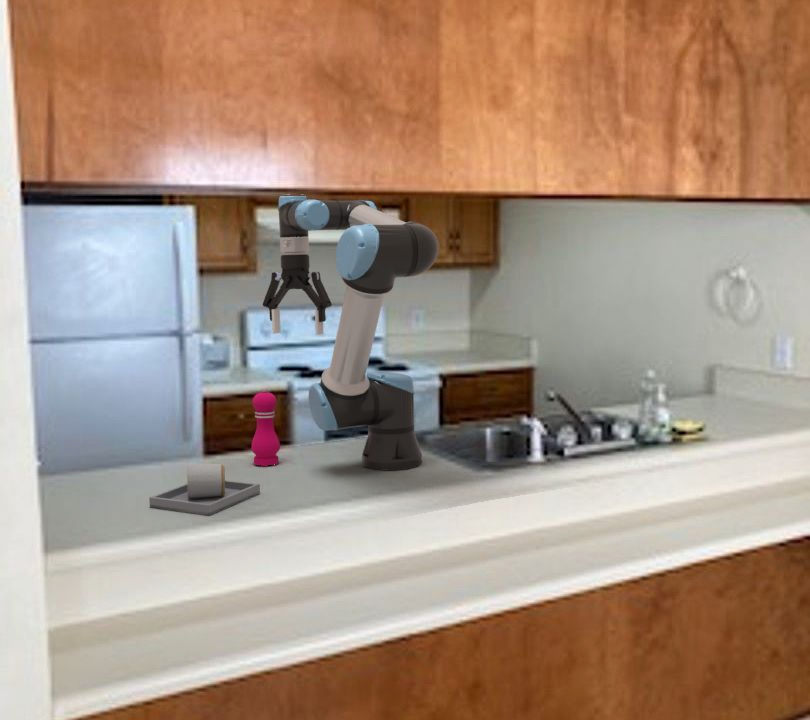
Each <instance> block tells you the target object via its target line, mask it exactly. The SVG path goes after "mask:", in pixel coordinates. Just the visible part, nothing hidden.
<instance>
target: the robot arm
mask: <svg viewBox="0 0 810 720" xmlns="http://www.w3.org/2000/svg"><path fill="white" fill-rule="evenodd" d="M277 210H278V221H279V222H278V223H279V224H278V225H279V240H280V241H279V244H280V245H279V246H280V248H279V249H280V253H282V255H280V267H281V268H280V269H281V272H280V271H275V272H271V280H270V284H269V286H268V289H267V291H266V294H265V296H264V299H263V301H262V307H265V308H268V310H269V320H270V322H271V325H272V326H271V328H272V330H271V331H272V334H273V335H274V334H280V333H282V332H281V311H280V310H281V309H280V308H278V306H279V305H280V303H281V302H282V301H283V299H284V298H285V296H286V295H287V293H288V292H289V291H290V290H302V291H303V292H305V294H306V295H307V297H308V298H309V299H310V300H311V302H312V303H313V304H314V306H315V307H316V309H315V310H314V322H315V323H314V327H315V335H316V336H317V335H318V336H320V335H323V334H324V322H326V319H327V318H326V309H328V308H330V307H332V305H333V304H332V302H331V299H330V298H329V294H328V293H327V291H326V288H325V286H324V284H323V282H322V278H321V274H320V271H313V272H310V270H309V269H310V256H309V254H308V253H309V252H310V245H309V244H310V243H309V238H310V237H309V231H310V232H311V231H343V232H342V234H341V236H340V237H339V240H338V242H337V245H336V251H335V257H336V261H335V264H336V270H337V272H338V275H340V276H341V279H342V282H343V284H344V285H345V286H346V289H345V294H344V299H343V302H342V309H341V313H340V316H339V323H338V327H337V332H336V338H335V342H334V346H333V351H332V355H331V362H330V366H329V367H328V368H326V369H324V370H323V372H322V374H321V379H320V382H315V383H313V384H311V385H310V386H309V388H308V403H309V409H310V413H311V416H312V419H313V421H314V423H315V425H316V426H317V427H318V429H320V430H322V431H338V430H339V431H340V430H345V429H352V428H359V427H360V428H361V427H367V432H368V433H367V437H366V441H365V444H364V448H363V450H362V451H363V452H362V453H361V455H362V456H361V464H362V466H363V467H365V468H368V469H372V470H378V471H379V470H381V471H397V470H399V471H400V470H407V469H412V468H416V467H419V466H421V465H422V463H423V455H422V451H421V450H422V449H420V445H419V443H418V439H417V437H416V433H415V401H414V400H415V398H414V397H415V396H414V395H415V388H414V383H413V382H414V380H413V378H412V377H411V376H409V375H407V374H405V373H404V374H403V373H397V372H391V371H390V372H389V371H378V370H377V371H368V372H367V369H368V365H369V361H370V356H371V354H372V353H371V352H372V349H373V343H374V339H375V335H376V332H377V326H378V323H379V318H380V314H381V310H382V306H383V302H384V297H385V295H386V294H389V293H390V292H392V291H393V288H394V285H395V280H396V278H408V277H409V278H410V277H417V276H419V275H421V274H424V273H426V272H427V271H428V270H429V269H431V267H432V266H433V265H434V263H435V262H436V260H437V259H438V258H437V257H438V255H439V251H440V249H439V248H440V247H439V241H438V238H437V236H436V234H435V233H434V232H433V231H432V230H431V228H429V227H428V226H426V225H424V224H421V223H419V222H416V221H408V222H405V221H403V220H401V219H398V218H396V217H394V216H392V215H389V214H387V213H385V212H383V211H380V210H378V208H377V206H376V204H375V203H374V202H373V201H371V200H363V199H358V200H317V199H308V198H307V196H306V195H305V196H281V195H280V196H279V198H278V209H277ZM281 280H282V281H283V282H282V283H280V282H281ZM310 280H311V282H312V284H311V283H310V282H309V281H310ZM280 284H281V285H280ZM279 285H280V287H279ZM313 286H314V288H315V289H314V288H313ZM278 288H279V290H278ZM277 290H278V291H277Z"/></svg>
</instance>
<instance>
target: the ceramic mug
mask: <svg viewBox="0 0 810 720" xmlns="http://www.w3.org/2000/svg"><path fill="white" fill-rule="evenodd" d="M186 470H187V472H186V473H187V474H186V475H187V478H186V479H187V481H186V482H187V483H186V484H187V494H188V498H189V499H192V498H206V497H219V496H222V495H224V493H225V480H226V474H225V473H226V471H225V470H226V469H225V466H224V465H223V464H220V463H194V462H193V463H192V462H190V463H188V464H187V469H186Z"/></svg>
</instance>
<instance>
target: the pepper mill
mask: <svg viewBox="0 0 810 720" xmlns="http://www.w3.org/2000/svg"><path fill="white" fill-rule="evenodd" d="M268 390H269V388H268V387H267V386H266V385H263V386H261V388H260V392H258V393H257V394H255V395H254V396H253V398H252V406H253V408H254V409H255V411H254V418H256V430H255V433H254V434H253V435H254V436H253V439H252V442H251V451H252V453H254V455H255V456H253V464H255V465H254V466H256V465H261V466H260V467H269V466H268V465H273V466H275V465H274V464H276V465H278V464H279V463H278V462H279V455H277V454H278V453H279V451H280V449H281V443H280V440H279V437H278V436H277V433H276V431H275V427H274V417H275V416H276V415H275V410H274V409H275V408H276V407H277V399H276V396H275V395H274V394H273V393H272V392H269V391H268ZM277 463H278V464H277Z"/></svg>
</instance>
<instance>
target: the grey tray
mask: <svg viewBox="0 0 810 720" xmlns="http://www.w3.org/2000/svg"><path fill="white" fill-rule="evenodd" d="M260 485H261V484H260V483H253V482H245V481H236V480H235V481H234V480H227V479H225V493H224V495H222V496H219V497H206V498H192V499H189V498H188V494H187V483H185V484H182V485H179V486H176V487H174V488H171V489H168V490H166V491H163V492H161V493H157V494H155V495H152V496H150V497H149V500H148V501H149V508H152V509H157V510H158V509H159V510H166V511H173V512H179V513H187V514H194V515H201V516H202V515H203V516H208V515H209V516H212V515H215V514H217V513H219V512H221V511H223V510H226V509H228V508H231V507H233V506H235V505H238V504H240V503H242V502H244V500H245V501H246V500H249V499H251V498H254V497H256V496H257V494H258V495H260V494H261V487H260ZM259 493H260V494H259ZM255 495H256V496H255ZM253 496H254V497H253ZM248 498H249V499H248ZM239 502H240V503H239ZM237 503H238V504H237ZM216 512H217V513H216ZM214 513H215V514H214Z"/></svg>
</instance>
